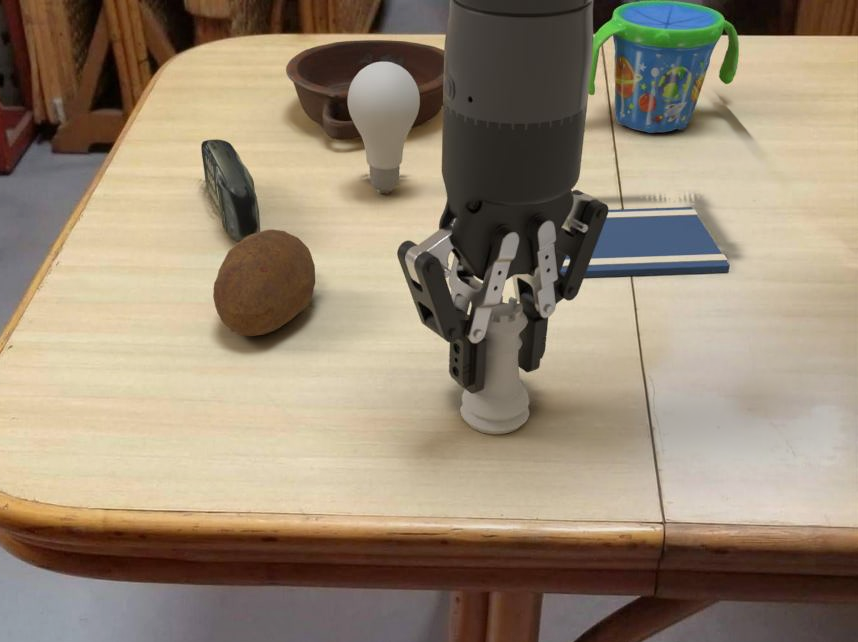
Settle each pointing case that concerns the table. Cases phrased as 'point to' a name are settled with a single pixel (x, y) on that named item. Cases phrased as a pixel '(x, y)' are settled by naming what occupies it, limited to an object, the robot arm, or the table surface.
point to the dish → (339, 64)
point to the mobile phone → (231, 188)
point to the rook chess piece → (500, 375)
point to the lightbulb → (383, 118)
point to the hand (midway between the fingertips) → (497, 374)
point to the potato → (264, 282)
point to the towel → (654, 244)
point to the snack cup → (662, 61)
